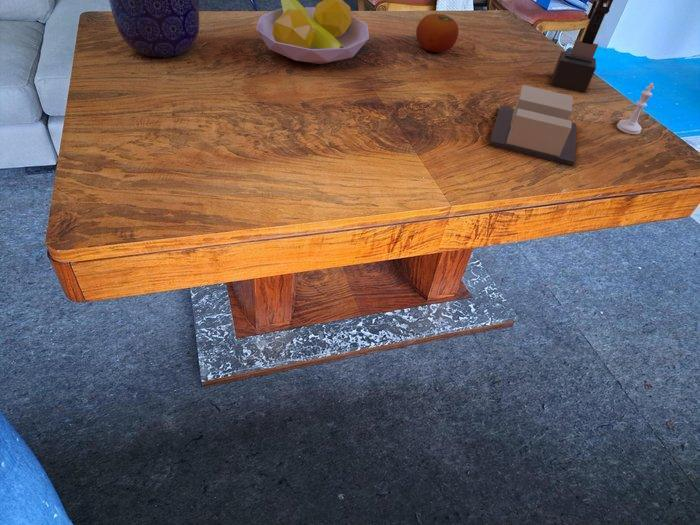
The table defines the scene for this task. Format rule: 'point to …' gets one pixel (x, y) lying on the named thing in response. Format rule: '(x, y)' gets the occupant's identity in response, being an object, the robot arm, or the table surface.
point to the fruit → (437, 32)
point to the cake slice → (539, 132)
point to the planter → (157, 25)
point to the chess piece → (636, 114)
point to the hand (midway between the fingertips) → (592, 25)
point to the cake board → (500, 141)
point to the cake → (544, 102)
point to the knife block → (572, 73)
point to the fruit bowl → (313, 31)
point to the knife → (585, 46)
